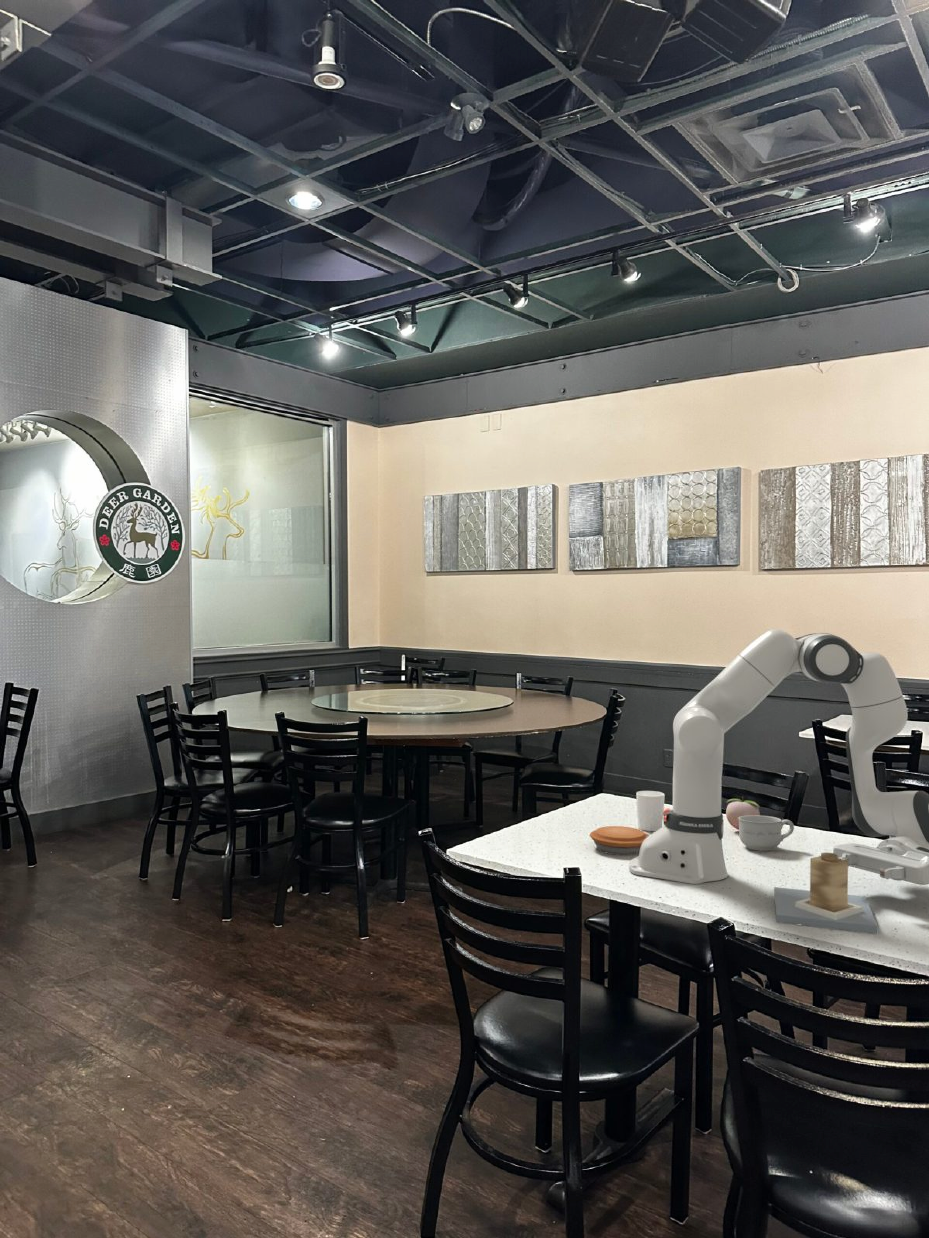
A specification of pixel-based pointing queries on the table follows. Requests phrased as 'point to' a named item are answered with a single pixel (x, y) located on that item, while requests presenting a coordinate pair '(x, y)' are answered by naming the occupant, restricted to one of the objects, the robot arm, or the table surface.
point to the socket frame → (847, 912)
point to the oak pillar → (829, 882)
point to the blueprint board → (795, 915)
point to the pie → (618, 839)
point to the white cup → (650, 810)
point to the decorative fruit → (740, 810)
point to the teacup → (762, 831)
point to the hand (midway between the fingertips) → (861, 868)
